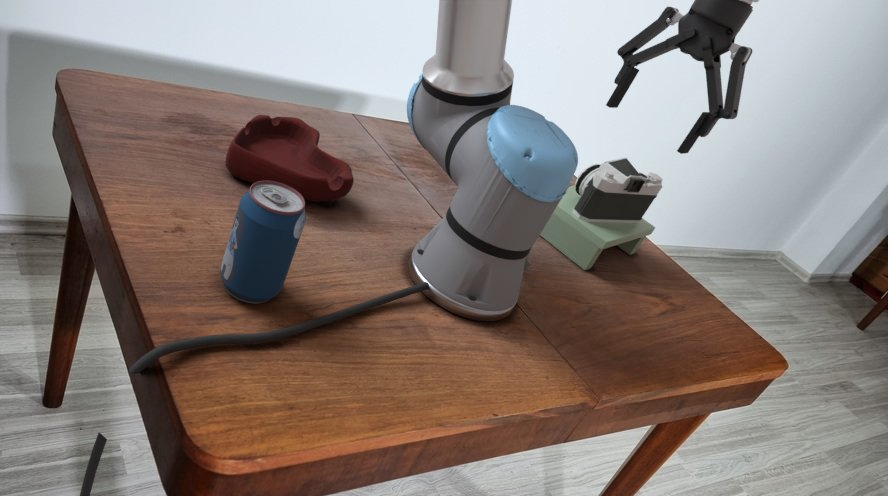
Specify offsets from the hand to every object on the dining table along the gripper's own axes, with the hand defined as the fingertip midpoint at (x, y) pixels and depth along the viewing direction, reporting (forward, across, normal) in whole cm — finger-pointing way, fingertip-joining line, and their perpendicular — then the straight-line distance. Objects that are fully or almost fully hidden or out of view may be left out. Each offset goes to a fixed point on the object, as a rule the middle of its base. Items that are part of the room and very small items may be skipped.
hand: (645, 128), depth 110 cm
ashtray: (+22, +25, +46) cm, 57 cm away
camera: (+15, 0, -1) cm, 15 cm away
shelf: (+21, 0, -1) cm, 21 cm away
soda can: (+22, +5, +64) cm, 68 cm away
